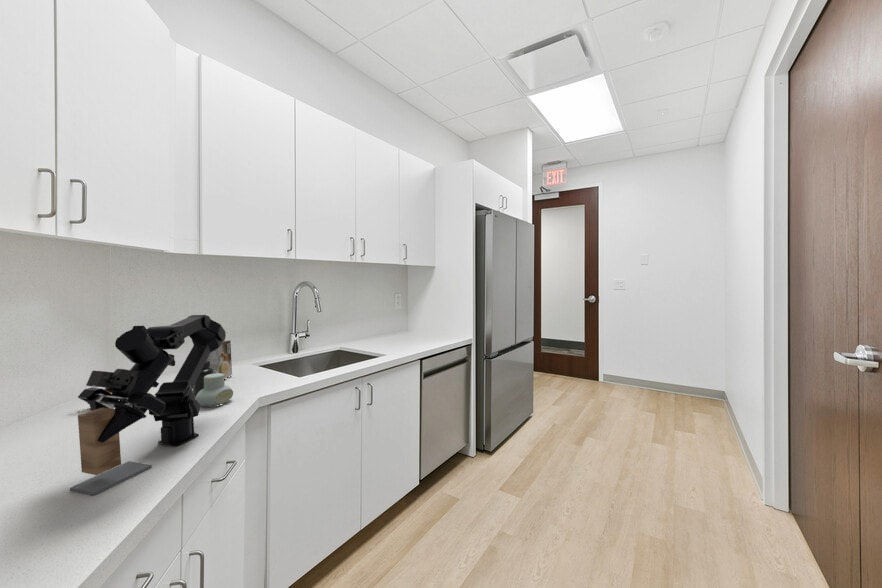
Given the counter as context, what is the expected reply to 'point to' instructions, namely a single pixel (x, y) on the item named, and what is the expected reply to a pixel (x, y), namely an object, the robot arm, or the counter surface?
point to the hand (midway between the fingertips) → (91, 440)
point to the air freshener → (214, 391)
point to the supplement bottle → (202, 377)
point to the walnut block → (97, 442)
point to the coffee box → (221, 359)
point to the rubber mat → (110, 478)
